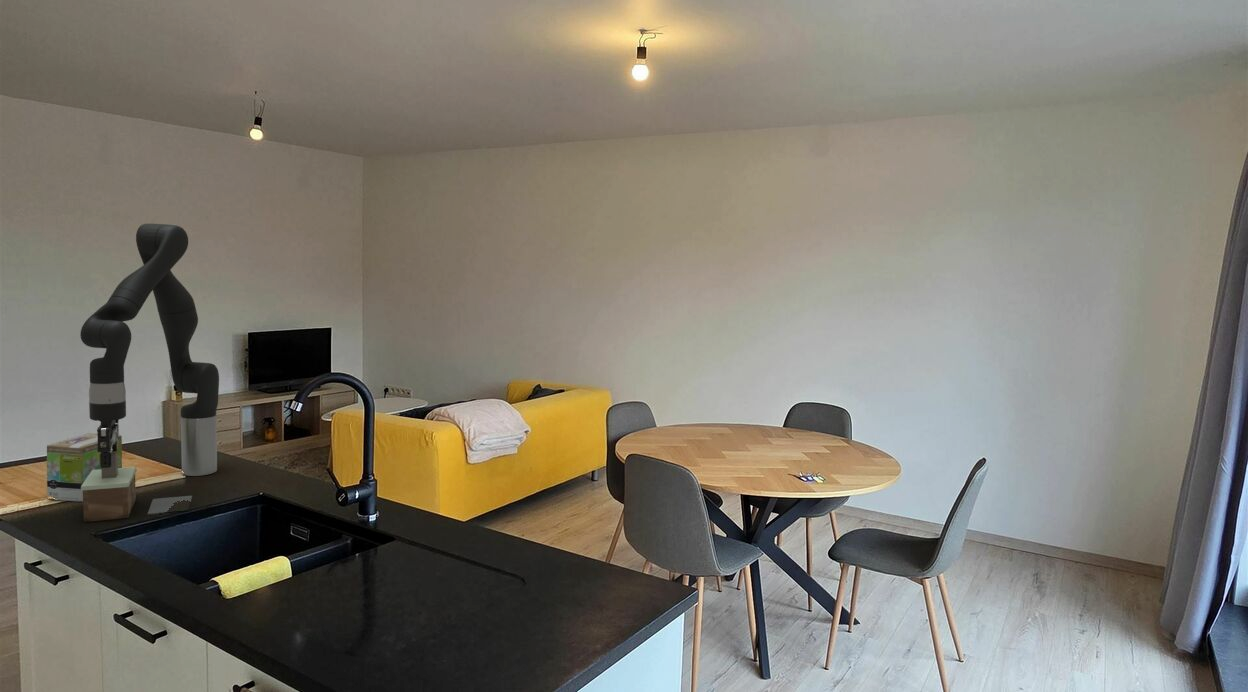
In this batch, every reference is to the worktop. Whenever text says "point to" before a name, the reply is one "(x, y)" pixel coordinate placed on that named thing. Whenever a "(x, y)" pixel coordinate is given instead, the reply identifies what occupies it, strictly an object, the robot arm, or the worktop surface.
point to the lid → (109, 476)
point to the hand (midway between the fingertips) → (109, 463)
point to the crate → (109, 503)
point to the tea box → (73, 465)
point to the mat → (165, 504)
